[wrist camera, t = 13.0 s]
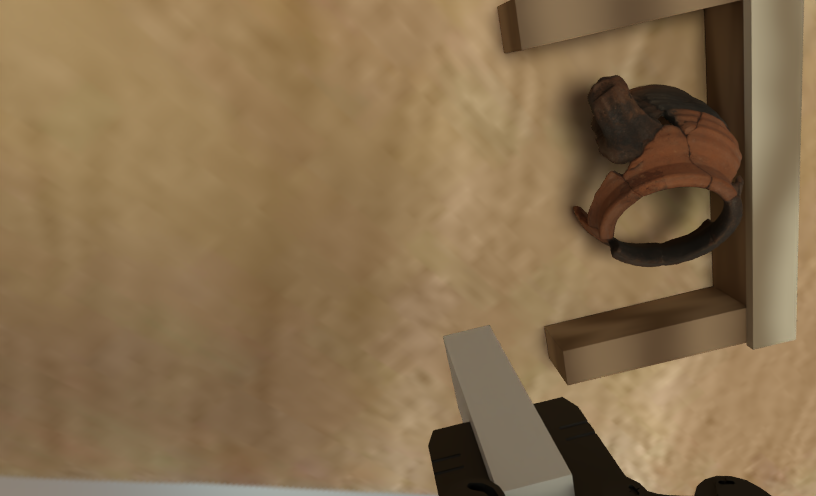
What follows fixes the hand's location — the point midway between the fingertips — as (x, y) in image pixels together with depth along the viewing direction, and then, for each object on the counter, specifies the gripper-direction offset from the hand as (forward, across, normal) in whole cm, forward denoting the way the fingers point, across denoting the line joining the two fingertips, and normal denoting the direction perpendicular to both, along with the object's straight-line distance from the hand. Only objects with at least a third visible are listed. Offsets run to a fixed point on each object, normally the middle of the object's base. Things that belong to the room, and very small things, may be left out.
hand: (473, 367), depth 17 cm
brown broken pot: (+18, +14, +1) cm, 22 cm away
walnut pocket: (+17, +15, 0) cm, 23 cm away
